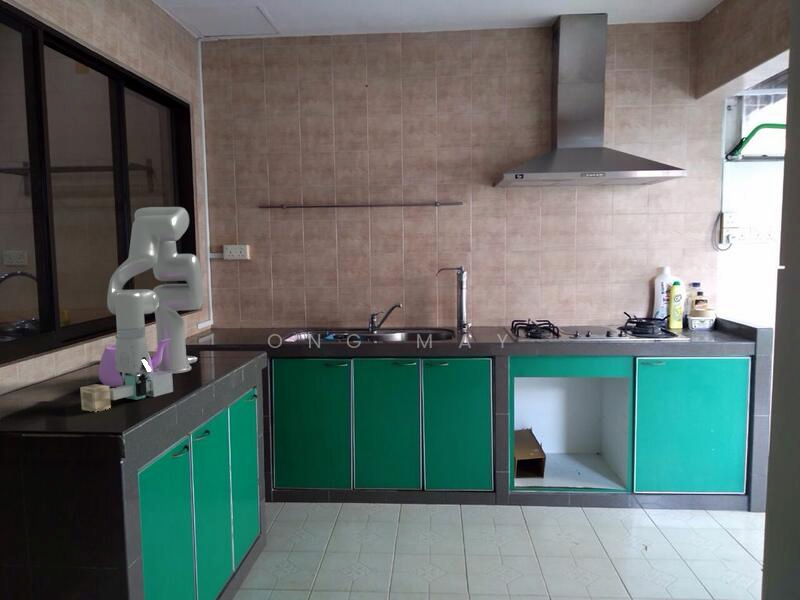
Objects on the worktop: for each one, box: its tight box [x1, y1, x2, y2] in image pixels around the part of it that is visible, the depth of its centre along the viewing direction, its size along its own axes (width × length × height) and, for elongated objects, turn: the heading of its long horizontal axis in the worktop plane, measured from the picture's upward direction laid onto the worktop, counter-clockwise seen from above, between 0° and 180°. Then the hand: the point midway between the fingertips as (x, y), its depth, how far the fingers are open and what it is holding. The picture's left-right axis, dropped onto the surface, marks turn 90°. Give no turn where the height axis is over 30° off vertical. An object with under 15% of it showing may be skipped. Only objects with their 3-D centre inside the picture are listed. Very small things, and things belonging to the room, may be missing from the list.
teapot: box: [98, 339, 170, 388], centre depth 200 cm, size 23×21×15 cm
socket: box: [79, 383, 112, 413], centre depth 169 cm, size 4×6×6 cm
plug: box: [110, 374, 151, 401], centre depth 181 cm, size 18×5×7 cm, turn 150°
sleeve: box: [145, 371, 174, 398], centre depth 186 cm, size 7×6×6 cm
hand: (135, 394), depth 180 cm, fingers closed on plug, 4 cm apart
